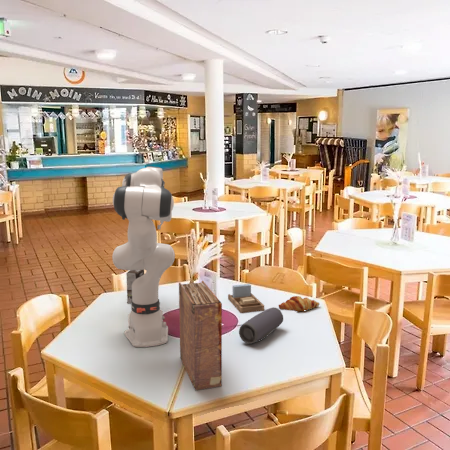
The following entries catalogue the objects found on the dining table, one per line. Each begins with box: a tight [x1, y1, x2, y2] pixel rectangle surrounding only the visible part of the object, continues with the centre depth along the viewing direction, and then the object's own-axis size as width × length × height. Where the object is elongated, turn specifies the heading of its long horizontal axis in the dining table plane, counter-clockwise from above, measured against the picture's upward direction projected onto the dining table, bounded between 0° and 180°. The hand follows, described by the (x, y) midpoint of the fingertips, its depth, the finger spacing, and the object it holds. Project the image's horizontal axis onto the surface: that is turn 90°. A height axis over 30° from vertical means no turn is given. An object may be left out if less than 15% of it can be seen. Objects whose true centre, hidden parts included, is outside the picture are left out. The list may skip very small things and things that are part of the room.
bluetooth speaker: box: [238, 306, 284, 345], centre depth 196 cm, size 23×9×10 cm, turn 145°
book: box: [178, 280, 223, 391], centre depth 166 cm, size 25×9×30 cm, turn 17°
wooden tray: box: [227, 292, 265, 314], centre depth 231 cm, size 20×12×4 cm, turn 17°
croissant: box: [278, 295, 320, 312], centre depth 228 cm, size 21×10×8 cm, turn 105°
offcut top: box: [240, 297, 255, 304], centre depth 229 cm, size 4×6×2 cm
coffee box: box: [125, 270, 145, 304], centre depth 238 cm, size 9×6×16 cm
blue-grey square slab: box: [232, 283, 252, 298], centre depth 236 cm, size 2×9×8 cm, turn 107°
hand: (149, 227), depth 224 cm, fingers open, 8 cm apart
